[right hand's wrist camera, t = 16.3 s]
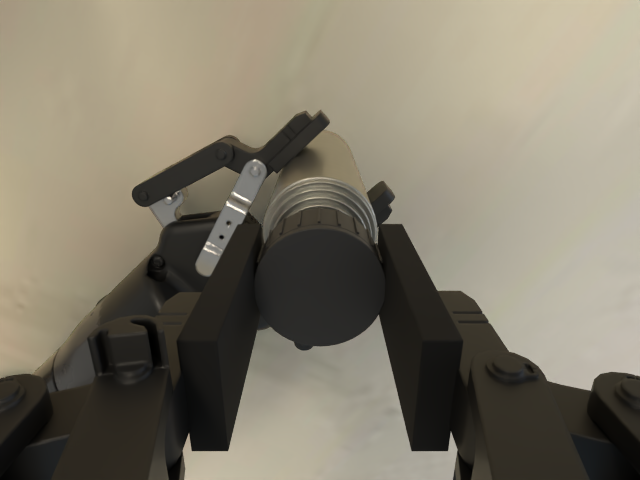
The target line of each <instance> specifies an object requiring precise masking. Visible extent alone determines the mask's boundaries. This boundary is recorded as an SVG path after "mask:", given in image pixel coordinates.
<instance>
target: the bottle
mask: <svg viewBox="0 0 640 480" xmlns="http://www.w3.org/2000/svg"><path fill="white" fill-rule="evenodd" d="M318 207H321V209H330V210H339V212H342V213H344V214H347V215H349V216H351V217H352V218H353V217H355V218H356V220H357V221H358V222H359V223H360V224H362V225H363V226H364V227H365V229H369V231H370V235H371V237H372V238H373V240H374V242H376V238H377V222H376V217H375V214H374V211H373V208H372V206H371V203H370V200H369V198H368V195H367V193H366V190H365V187H364V185H363V182H362V179H361V177H360V174H359V171H358V169H357V166H356V163H355V161H354V158H353V156H352V153H351V150H350V148H349V146H348V145H347V143H346V142H345V141H344V140H343V139H342V138H341V137H340V136H338V135H337V134H335V133H333V132H330V131H325V130H323V131H322V132H321V133H319V134H318V135H317V136H316V137H315V138H314V139H313V140H312V141H311V142H310V143H309V144H308V145H307V146H306V147H305V148H304V149H303V150H301V151H300V152H299V153H298V154H297V155H296V156H295V157H294V158H293V159H292V160H290V161H289V162H288V163H287V165H286V166H284V167H283V168H282V171H281V173H280V176H279V179H278V181H277V184H276V186H275V189H274V192H273V194H272V197H271V200H270V202H269V205H268V208H267V210H266V213H265V216H264V220H263V239H264V243H265V242H266V240H267V238H268V235H269V232H270V230H273V229H274V228H275V227H276V226H277V225H278V224H279V223H280V222H282V219H283V218H285V219H286V218H287V217H289V216H291V215H293V214H295V213H298V212H299V210H302V211H304V210H309V209H318Z"/></svg>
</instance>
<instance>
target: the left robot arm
mask: <svg viewBox="0 0 640 480" xmlns="http://www.w3.org/2000/svg"><path fill="white" fill-rule="evenodd" d="M329 123H330V120H329V119H328V118H327V116H326V115H325V114H324V113H323V112H322V111H321V110H320V111H318V112H317V113H316V114H315V115H314V116H313V117H311V116H310V114H309V113H308V112H307V111H304V112H301V113H299V114H296V115H295V116H294V117H293V118H292V119H291V120H290V121H289V122H288V123H287V124H286V125H285V126H284V127H283V128H282V129H281V130H280V131H279V132H278V133H277V134H276V135H275V136H274V137H273V138H272V139H271V140H270V141H269V142H268V143H267V144H266V145H264V146H263V147H261V148H251V147H249V146H247V145H245V144H243V143H241V142H240V141H239V140H238V139H237V138H236V137H234V136H231V135H228V136H225V137H223V138H221V139H219V140H217V141H216V142H214V143H212V144H210V145H208V146H206V147H205V148H203V149H201V150H199V151H197V152H195V153H194V154H192V155H190V156H188V157H186V158H184V159H182V160H181V161H179V162H177V163H175V164H173V165H171V166H170V167H168V168H166V169H164V170H162V171H160V172H159V173H157V174H155V175H153V176H152V177H150V178H148V179H147V180H145V181H144V182H142V183H141V184H139V185H137V186H136V187H135V188H134V189H133V191H132V197H133V200H134V201H135V202H136V203H137V204H138V205H139V206H142V207H148V206H149V208H150V209H151V211H152V212H153V214H154V215H155V217H156V218H157V220H158V221H159V222H160V224H161V225H162V227H163V230H162V232H161V234H160V239H159V243H158V245H157V247H156V248H155V249H154V250H153V251H152V252H151V253H150V254H149V255H148V256H147V257H146V258H145V259H144V260H143V261H142V262H141V263H140V264H139V265H138V266H137V267H136V268H135V269H134V270H133V271H132V272H131V273H130V274H129V275H128V276H127V277H126V278H125V279H124V280H123V281H122V282H121V283H120V284H119V285H118V286H116V287H115V288H114V289H113V290H112V292H111V293H109V294H108V295H106V296H105V297H104V298H102V299H101V300H100V301H99V302H98V303H97V305H96V307H95V308H94V309H93V310H92V311H91V312H90V313H89V314H88V315H87V316H86V317H85V318H84V319H83V320H82V321H81V322H80V323H79V324H78V326H77V327H76V328H75V330H74V331H73V332H72V334H71V335H70V337H69V338H68V339H67V341H66V342H65V343H64V344H63V345H62V346H61V347H60V348H59V349H58V350H57V351H56V352H55V353H54V354H53V355H52V356H51V357H50V358H49V359H48V360H47V361H46V362H45V363H44V364H43V365H42V366H41V367H39V368H38V369H37V370H36V371H35V372H34V373H33V374H32V375H37V376H40V377H41V378H42V379H44V380H45V381H46V383H47V387H48V390H49V393H51V392H56V391H61V390H65V389H70V388H75V387H80V386H83V385H87V384H91V383H93V380H94V378H95V376H96V375H95V371H94V367H93V362H92V358H91V354H90V349H89V345H88V341H87V337H88V336H89V335H90V334H91V333H92V332H93V330H95V329H96V328H98V327H99V326H101V325H103V324H104V323H106V322H109V321H112V320H115V319H117V318H121V317H126V316H132V315H147V316H151V317H155V316H156V315H158V312H159V310H160V309H161V307H162V306H163V304H164V303H165V302H166V301H167V300H169V299H170V298H172V297H173V296H175V295H176V294H178V293H179V292H202V291H203V289H204V287H205V285H206V283H207V281H208V280H209V278H210V276H211V274H212V272H213V270H214V268H215V266H216V264H217V263H218V261H219V259H220V257H221V255H222V253H223V251H224V249H225V247H226V245H227V244H228V242H229V240H230V238H231V236H232V234H233V232H234V230H235V228H236V227H237V225H238V224H259V223H258V221H257V220H256V219H255V218H254V217H253V216H252V215H251V214H250V213H249V212H248V210H249V208H250V206H251V205H252V203H253V201H254V199H255V197H256V195H257V193H258V191H259V189H260V187H261V185H262V183H263V181H264V180H265V179H266V178H267V177H268V176H269V175H270V174H271V173H272V172H273V171H275V172H276V173H278V172H279V171H280V170H281V169H282V168H283V167H284V166H286V165H287V163H288V162H289V161H290V160H292V159H293V158H294V157H295V156H296V155H297V154H298V153H299V152H300V151H301V150H303V149H304V148H305V147H306V146H307V145H308V144H309V143H310V142H311V141H312V140H313V139H314V138H315V137H316V136H317V135H318V134H319V133H321V132H322V131H323V130H324V129H325V128H326V127H327V126H328V124H329ZM224 166H225V167H227V168H229V169H231V170H233V171H235V172H237V173H239V174H240V176H239V178H238V180H237V182H236V184H235V186H234V188H233V190H232V192H231V194H230V196H229V198H228V199H227V201H226V203H225V205H224V207H223V209H222V211H216V212H208V213H199V214H190V215H182V216H181V214H180V205H181V204H182V203H183V202H184V201H185V200H186V199H187V197H188V190H187V188H186V187H187V186H188V185H190V184H192V183H194V182H196V181H198V180H200V179H202V178H204V177H205V176H207V175H209V174H211V173H213V172H215V171H217V170H219V169H220V168H222V167H224ZM367 195H368V198H369V200H370V203H371V206H372V208H373V211H374V214H375V217H376V222H377V227H378V226H379V224H382V223H383V222H384V221H385V220H387V219H388V217H389V215H390V213H391V212H392V209H391V207H390V205H389V204H390V203H391V202H392V201H393V200H394V198H395V196H394V194H393V192H392V190H391V189H390V188H389V187H388V186H387V185H386V184H385V182H384V181H381V182H379V183H378V184H376V185H375V186H374V187H373V188H372V189H371V190H369V191H368V192H367ZM261 235H262V244H263V245H264V244H265V243H264V239H263V229H262V227H261ZM269 327H270V326H269V324H268V323H267V322H266V321H265V320H264V318H263V317H262V315H261V316H260V320H259V324H258V328H257V331H258V330H263V329H267V328H269ZM294 344H295V346H296V347H297V348H298V349H300V350H309V349H311V348H312V347H313V346H310V345H304V344H300V343H297V342H294Z"/></svg>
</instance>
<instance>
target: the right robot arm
mask: <svg viewBox="0 0 640 480" xmlns="http://www.w3.org/2000/svg"><path fill="white" fill-rule="evenodd" d="M261 247H262V235H261V224H238V225H237V227H236V228H235V230H234V232H233V234H232V236H231V238H230V240H229V242H228V244H227V245H226V247H225V249H224V251H223V253H222V255H221V257H220V259H219V261H218V263H217V264H216V266H215V268H214V270H213V272H212V274H211V276H210V278H209V280H208V281H207V283H206V285H205V287H204V289H203V291H202V292H179V293H178V294H176V295H175V296H173V297H172V298H170V299H169V300H167V301H166V302H165V303H164V304H163V306H162V307H161V309H160V310H159V312H158V315H156V316H155V317H151V316H147V315H132V316H126V317H121V318H117V319H115V320H112V321H109V322H106V323H104V324H103V325H101V326H99V327H98V328H96V329H95V330H93V332H92V333H91V334H90V335H89V336H88V337H87V341H88V345H89V349H90V354H91V358H92V362H93V367H94V371H95V375H96V376H95V378H94V380H93V383H91V384H87V385H83V386H80V387H75V388H70V389H65V390H61V391H56V392H51V393H49V390H48V387H47V383H46V381H45V380H44V379H42V378H41V377H40V376H37V375H31V374H22V375H13V376H8V377H6V378H1V379H0V480H184V475H185V464H184V458H183V451H182V450H183V447H184V445H185V442H186V439H187V436H188V434H190V441H191V448H192V451H228V449H229V445H230V441H231V437H232V433H233V428H234V424H235V420H236V416H237V412H238V407H239V403H240V399H241V395H242V391H243V387H244V382H245V378H246V374H247V370H248V366H249V362H250V357H251V353H252V349H253V345H254V341H255V337H256V332H257V328H258V324H259V320H260V316H261V313H260V311H259V309H258V307H257V305H256V301H255V288H254V276H255V273H256V269H257V266H258V264H256V262H257V259H258V256H259V253H260V250H261ZM378 248H379V251H380V254H381V257H382V260H383V263H381V264H382V267H383V270H384V273H385V278H386V283H385V299H384V304H383V306H382V309H381V311H380V313H379V317H380V321H381V325H382V329H383V334H384V338H385V342H386V346H387V350H388V354H389V359H390V363H391V367H392V371H393V375H394V379H395V384H396V388H397V392H398V396H399V400H400V405H401V409H402V413H403V417H404V421H405V425H406V430H407V434H408V438H409V442H410V446H411V450H412V451H448V446H449V439H450V432H452V435H453V438H454V440H455V443H456V446H457V449H458V451H457V458H456V464H455V471H454V477H453V480H640V376H635V375H632V374H628V373H618V372H609V373H604V374H600V375H599V376H598V377H597V378H595V379H594V382H593V385H592V389H591V391H588V390H584V389H579V388H574V387H569V386H564V385H560V384H556V383H552V382H549V381H547V380H546V377H545V375H544V374H543V372H542V371H541V370H540V368H539V367H538V366H537V365H535V364H534V363H533V362H531V361H530V360H529V359H527V358H525V357H522V356H520V355H518V354H515V353H512V352H509V351H508V350H507V348H506V347H505V345H504V344H503V342H502V341H501V339H500V338H499V336H498V335H497V333H496V332H495V330H494V329H493V327H492V326H491V324H490V323H488V320H487V318H486V317H485V315H484V314H482V311H481V309H480V308H479V306H478V305H477V303H476V302H475V300H473V299H472V298H470V297H469V296H467V295H466V294H464V293H463V292H461V291H437V290H436V288H435V286H434V284H433V282H432V280H431V278H430V276H429V274H428V273H427V271H426V269H425V267H424V265H423V263H422V261H421V259H420V257H419V256H418V254H417V252H416V250H415V248H414V246H413V244H412V242H411V240H410V238H409V237H408V235H407V233H406V231H405V229H404V227H403V225H402V224H379V230H378Z"/></svg>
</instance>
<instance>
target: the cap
mask: <svg viewBox="0 0 640 480" xmlns="http://www.w3.org/2000/svg"><path fill="white" fill-rule="evenodd" d="M381 263H383V260H382V257H381V254H380V251H379V248H378V245H377V243H376V244H375V242H374V240H373V238H372V237H371V235H370V231H369V229H365V227H364V226H363V225H362V224H360V223H359V222H358V221H357V220H356V218H355V217H353V218H352V217H351V216H349V215H347V214H344V213H342V212H339V210H330V209H321V207H318V209H309V210H304V211H302V210H299V212H298V213H295V214H293V215H291V216H289V217H287V218H286V219H285V218H283V219H282V222H280V223H279V224H278V225H277V226H276V227H275V228H274V229H273V230H270V232H269V235H268V238H267V240H266V242H265V244H264V245H263V244H262V247H261V250H260V253H259V256H258V259H257V262H256V264H258V266H257V269H256V273H255V276H254V288H255V301H256V305H257V307H258V309H259V311H260V313H261V315H262V317H263V318H264V320H265V321H266V322H267V323H268V324H269V326H270V327H272V328H273V329H274V330H275V331H276V332H277V333H279V334H280V335H282V336H284V337H285V338H287V339H289V340H292V341H294V342H297V343H300V344H304V345H310V346H330V345H336V344H340V343H343V342H346V341H348V340H350V339H353V338H354V337H356V336H358V335H359V334H361V333H362V332H364V331H365V330H366V329H367V328H368V327H369V326H370V325H371V324H372V323H373V322H374V320H375V319H376V318H377V316H378V314H379V313H380V311H381V309H382V306H383V304H384V299H385V283H386V278H385V273H384V270H383V267H382V264H381Z"/></svg>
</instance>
